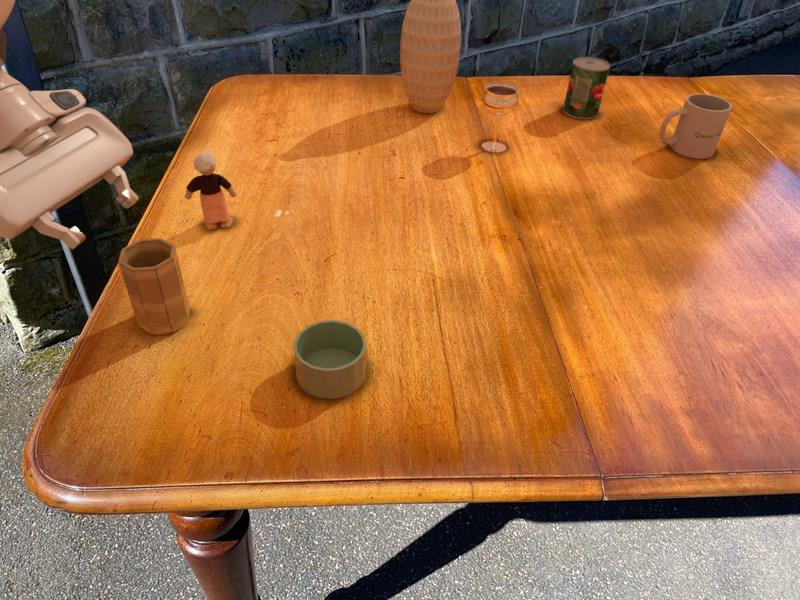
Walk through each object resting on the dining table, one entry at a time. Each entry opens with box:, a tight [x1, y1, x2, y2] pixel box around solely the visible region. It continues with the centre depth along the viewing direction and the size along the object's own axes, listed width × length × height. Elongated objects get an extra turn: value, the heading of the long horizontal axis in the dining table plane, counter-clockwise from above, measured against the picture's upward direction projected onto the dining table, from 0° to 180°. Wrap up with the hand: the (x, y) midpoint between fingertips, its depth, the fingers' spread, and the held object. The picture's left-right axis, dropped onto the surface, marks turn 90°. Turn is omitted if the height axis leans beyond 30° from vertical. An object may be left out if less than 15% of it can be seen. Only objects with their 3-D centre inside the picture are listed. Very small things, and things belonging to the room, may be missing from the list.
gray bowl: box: [292, 319, 367, 400], centre depth 77 cm, size 9×9×5 cm
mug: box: [659, 93, 733, 160], centre depth 128 cm, size 12×9×10 cm
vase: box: [399, 0, 462, 114], centre depth 133 cm, size 13×13×28 cm
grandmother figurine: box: [184, 151, 238, 231], centre depth 99 cm, size 8×4×13 cm, turn 115°
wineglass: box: [481, 81, 521, 153], centre depth 125 cm, size 7×7×12 cm
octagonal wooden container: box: [118, 237, 190, 336], centre depth 82 cm, size 6×6×11 cm
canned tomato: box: [562, 56, 611, 120], centre depth 140 cm, size 8×8×11 cm
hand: (107, 223), depth 76 cm, fingers open, 8 cm apart
